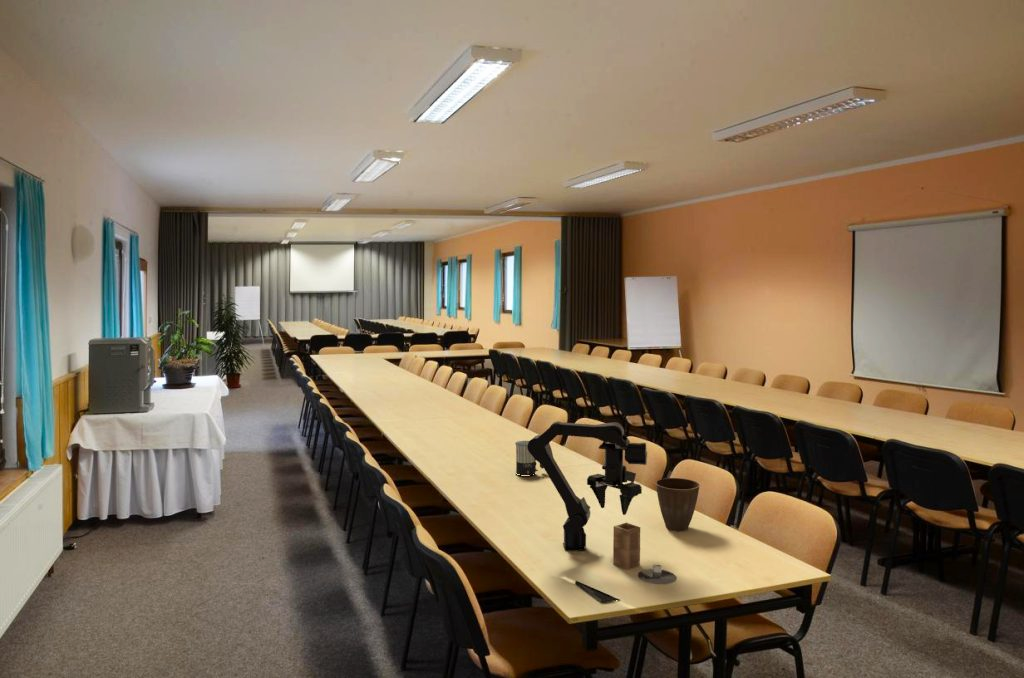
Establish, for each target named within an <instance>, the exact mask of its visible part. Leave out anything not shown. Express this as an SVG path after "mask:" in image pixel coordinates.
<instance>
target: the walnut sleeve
mask: <svg viewBox="0 0 1024 678" xmlns="http://www.w3.org/2000/svg"><path fill="white" fill-rule="evenodd" d="M612 536H613V543H612V547H613V550H612V551H613V553H612V554H613V557H612V564H613V565H614V566H617V567H619V568H621V569H623V570H626V571H628V570H631V569H634V568H637V567H639V566H641V526H638V525H635V524H631V523H628V522H624V523H621V524H618V525H614V526H613V535H612Z"/></svg>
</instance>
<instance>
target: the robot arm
mask: <svg viewBox="0 0 1024 678" xmlns="http://www.w3.org/2000/svg"><path fill="white" fill-rule="evenodd" d="M557 436H565V437H567V436H569V437H581V438H592V439H597V440H599V441H601V442H602V443H600V444H599V446H598V449H599V450H604V465H602V466H601V470H604V474H601V473H596V474H592V475H588V477H587V478H586V485H588V486H589V488H590V489H591V490H592V492H593V493H594V495H595V497H596V499H597V502H598V505H599V507H600V508H601V509H604V508H605V505H606V491H607V488H608V487H610V488H614V489H618V490H619V492H620V494H619V500H620V507H621V513H622V515H623V516H625V515H626V514H627V513H628V510H629V507H630V505H631V502H632V501H633V499H634V497H637V496H638V495H640V494H643V493H642V490H643V489H642V486H641V484H640V483H639V484H638V483H635V481H636V475H637V473H636V472H632V471H630V470H627V467H626V465H624V461H626V463H628V465H639V466H646V465H647V462H648V451H647V442H639V443H638V442H631V441H630V439H629V438H628V437H627V435H626V434H625V429H624V427H623V426H622V424H621V423H619V422H617V421H615V422H604V423H599V424H590V423H588V424H587V423H575V422H561V421H554V422H553V423H551V424H550V426H549V427H548V428H547V429H546V430H544V432H543V433H542V434H537V435H535V436H534V437H533V438H531V439H530V440H528V441H529V443H528V446H527V448H528V451H529V453H530V454H531V455H532V456H533V457H534V459H535V460H536V462H538V464H539V465H540V464H541V465H542V466H543V467H544V468H543V469H544V471H545V473H546V474H547V476H548V477H549V480H550V481H551V483H552V484H553V486H554V487H555V490H556V491H557V493H558V494H559V496H560V498H561V499H562V501H563V503H564V505H565V506H564V507H565V511H566V514H567V519H566V520H565V522H564V523H563V525H562V529H563V542H562V546H563V549H564V550H565V551H567V552H569V551H570V552H571V551H586V547H587V534H586V532H585V529H584V527H585V526H586V525H587V523H588V522H589V520H590V518H591V506H590V505H589V504H588V503H587V501H586V498H585V496H584V497H582V498H579V497H578V496H577V495H576V493H575V492H574V489H573V488H572V487H571V485H570V484H569V482H568V480H567V479H566V477H565V475H564V473H563V471H562V469H561V468H560V467H559V465H558V462H557V461H556V460H555V458H554V455H553V450H552V447H551V444H550V443H551V442H552V441H553V440H554V439H555V438H556V437H557Z"/></svg>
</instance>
